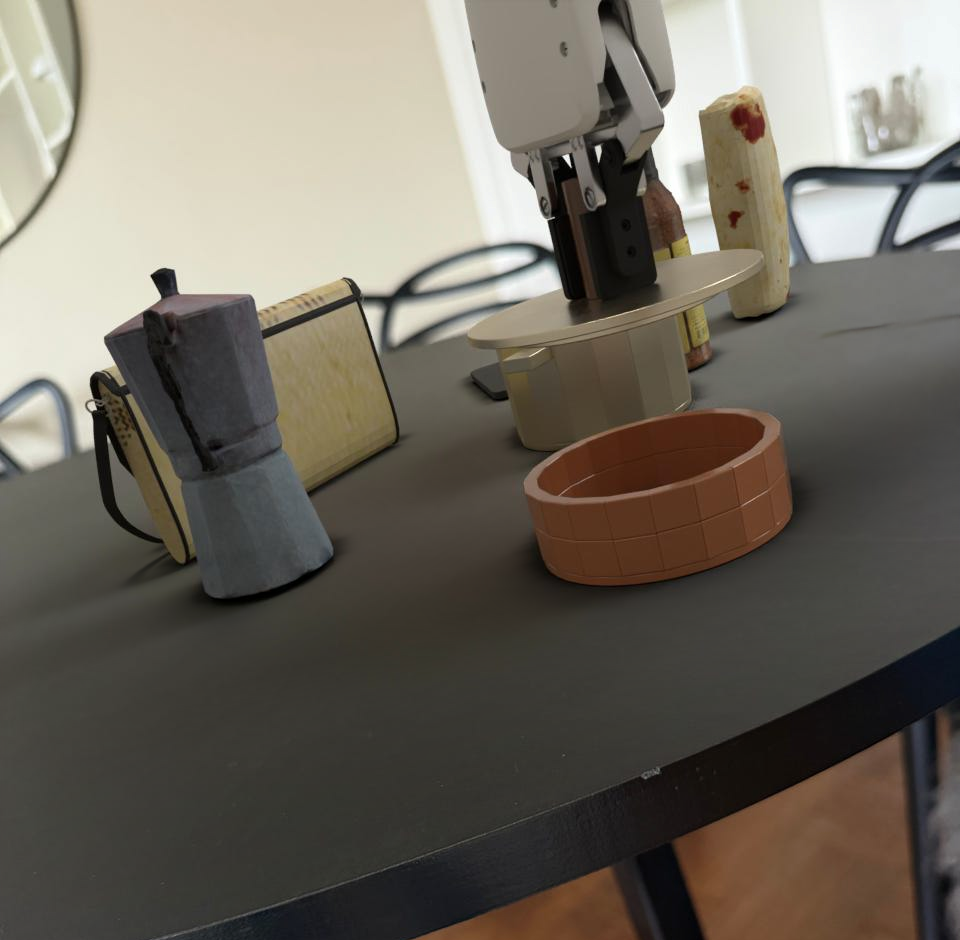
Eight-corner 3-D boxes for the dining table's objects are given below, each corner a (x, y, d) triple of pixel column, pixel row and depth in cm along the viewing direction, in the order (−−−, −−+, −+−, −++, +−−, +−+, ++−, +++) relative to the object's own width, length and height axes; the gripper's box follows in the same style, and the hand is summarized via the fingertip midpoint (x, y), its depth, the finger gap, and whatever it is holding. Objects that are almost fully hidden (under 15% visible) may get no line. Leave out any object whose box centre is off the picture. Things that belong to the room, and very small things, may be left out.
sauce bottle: (692, 354, 93) (646, 117, 85) (727, 359, 87) (682, 107, 79) (627, 377, 92) (575, 140, 84) (659, 384, 86) (607, 130, 78)
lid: (811, 253, 52) (792, 111, 49) (686, 336, 42) (654, 163, 39) (566, 299, 61) (539, 182, 58) (415, 376, 51) (375, 239, 48)
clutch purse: (365, 441, 98) (312, 283, 92) (419, 436, 94) (367, 269, 88) (116, 579, 79) (28, 389, 73) (170, 580, 74) (81, 378, 68)
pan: (829, 476, 56) (817, 397, 55) (731, 587, 47) (714, 497, 46) (615, 488, 65) (599, 420, 63) (498, 584, 56) (475, 508, 54)
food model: (795, 314, 96) (760, 80, 88) (723, 330, 98) (683, 104, 90) (802, 293, 104) (771, 76, 96) (736, 308, 106) (700, 99, 98)
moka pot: (340, 522, 75) (241, 243, 67) (349, 592, 61) (225, 249, 53) (215, 562, 75) (101, 286, 67) (196, 642, 61) (47, 304, 53)
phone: (493, 393, 97) (467, 371, 111) (496, 402, 98) (469, 379, 111) (567, 370, 98) (532, 351, 111) (569, 378, 98) (534, 358, 112)
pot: (733, 372, 83) (714, 264, 80) (624, 457, 70) (596, 334, 67) (590, 390, 91) (568, 293, 88) (470, 469, 79) (438, 360, 75)
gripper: (701, -253, 37) (777, 263, 45) (513, -99, 52) (594, 274, 59) (523, -219, 35) (633, 316, 43) (378, -68, 49) (480, 314, 57)
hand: (610, 288), depth 51 cm, fingers closed on lid, 2 cm apart
